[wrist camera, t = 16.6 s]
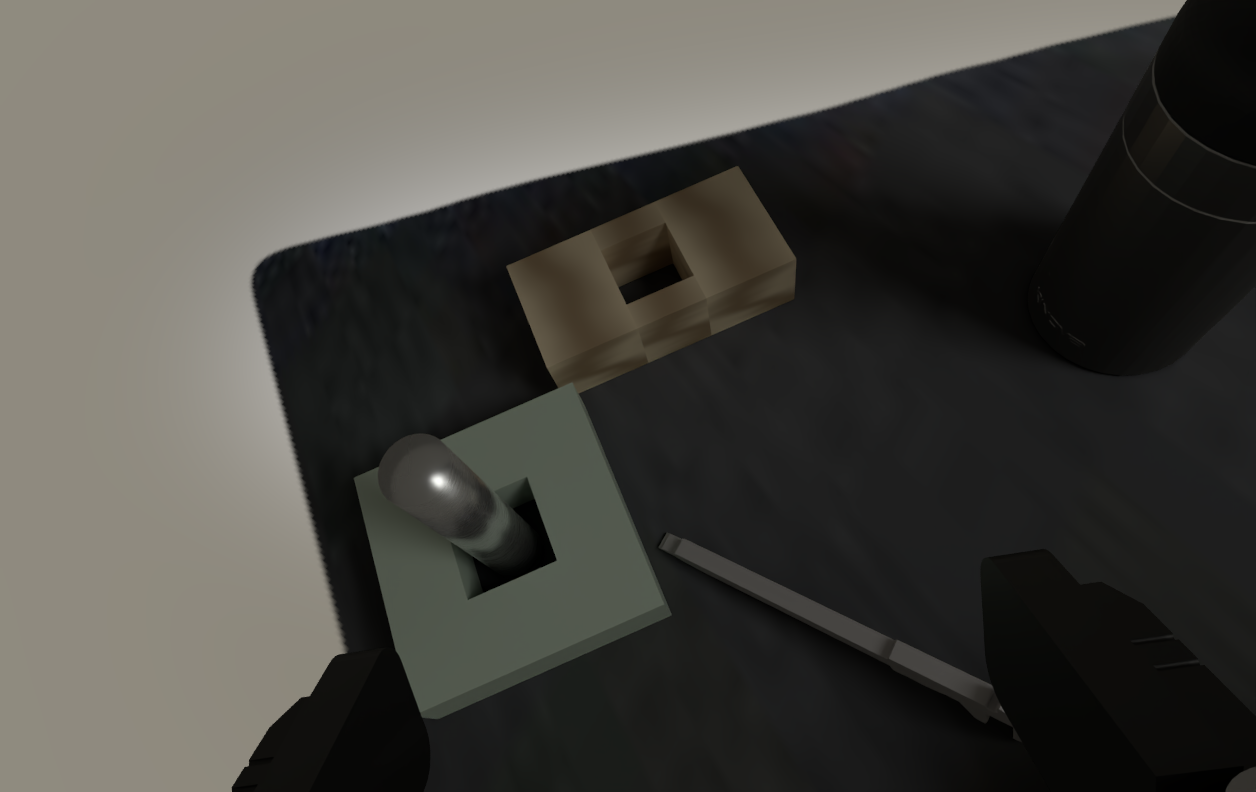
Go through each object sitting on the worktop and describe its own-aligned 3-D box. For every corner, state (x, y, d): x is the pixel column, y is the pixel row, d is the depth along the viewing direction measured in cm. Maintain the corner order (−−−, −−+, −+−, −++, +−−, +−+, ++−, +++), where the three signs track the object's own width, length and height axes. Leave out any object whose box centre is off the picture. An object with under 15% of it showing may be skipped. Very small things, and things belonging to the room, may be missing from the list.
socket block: (584, 406, 49) (572, 382, 46) (671, 615, 43) (664, 604, 40) (380, 495, 49) (353, 477, 46) (438, 719, 43) (411, 716, 39)
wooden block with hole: (740, 210, 53) (738, 165, 49) (794, 299, 50) (796, 259, 46) (526, 303, 53) (506, 266, 49) (565, 399, 49) (546, 367, 45)
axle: (534, 517, 46) (439, 421, 33) (552, 566, 45) (460, 487, 32) (485, 539, 46) (370, 452, 33) (501, 589, 45) (387, 518, 32)
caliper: (1029, 723, 38) (1073, 718, 33) (1021, 744, 38) (1065, 743, 32) (667, 533, 45) (652, 502, 39) (658, 550, 45) (642, 521, 39)
